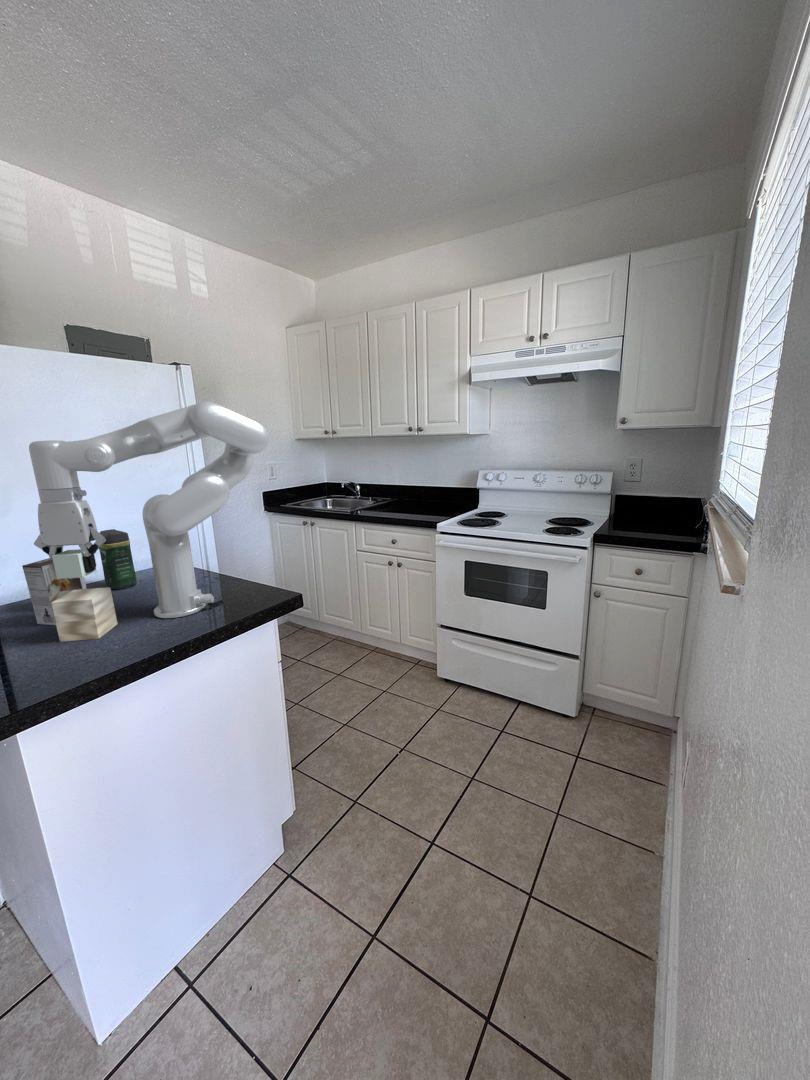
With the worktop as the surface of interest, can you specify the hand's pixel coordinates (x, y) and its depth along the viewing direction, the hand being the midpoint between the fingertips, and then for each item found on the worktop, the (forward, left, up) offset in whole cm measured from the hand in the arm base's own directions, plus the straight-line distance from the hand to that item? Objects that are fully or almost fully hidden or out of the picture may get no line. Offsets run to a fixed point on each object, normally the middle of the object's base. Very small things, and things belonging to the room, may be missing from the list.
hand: (76, 571), depth 102 cm
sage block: (0, 0, -1) cm, 1 cm away
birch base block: (0, 0, -16) cm, 16 cm away
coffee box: (+13, -11, -16) cm, 23 cm away
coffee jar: (+11, -37, -16) cm, 42 cm away
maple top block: (0, 0, -11) cm, 11 cm away
